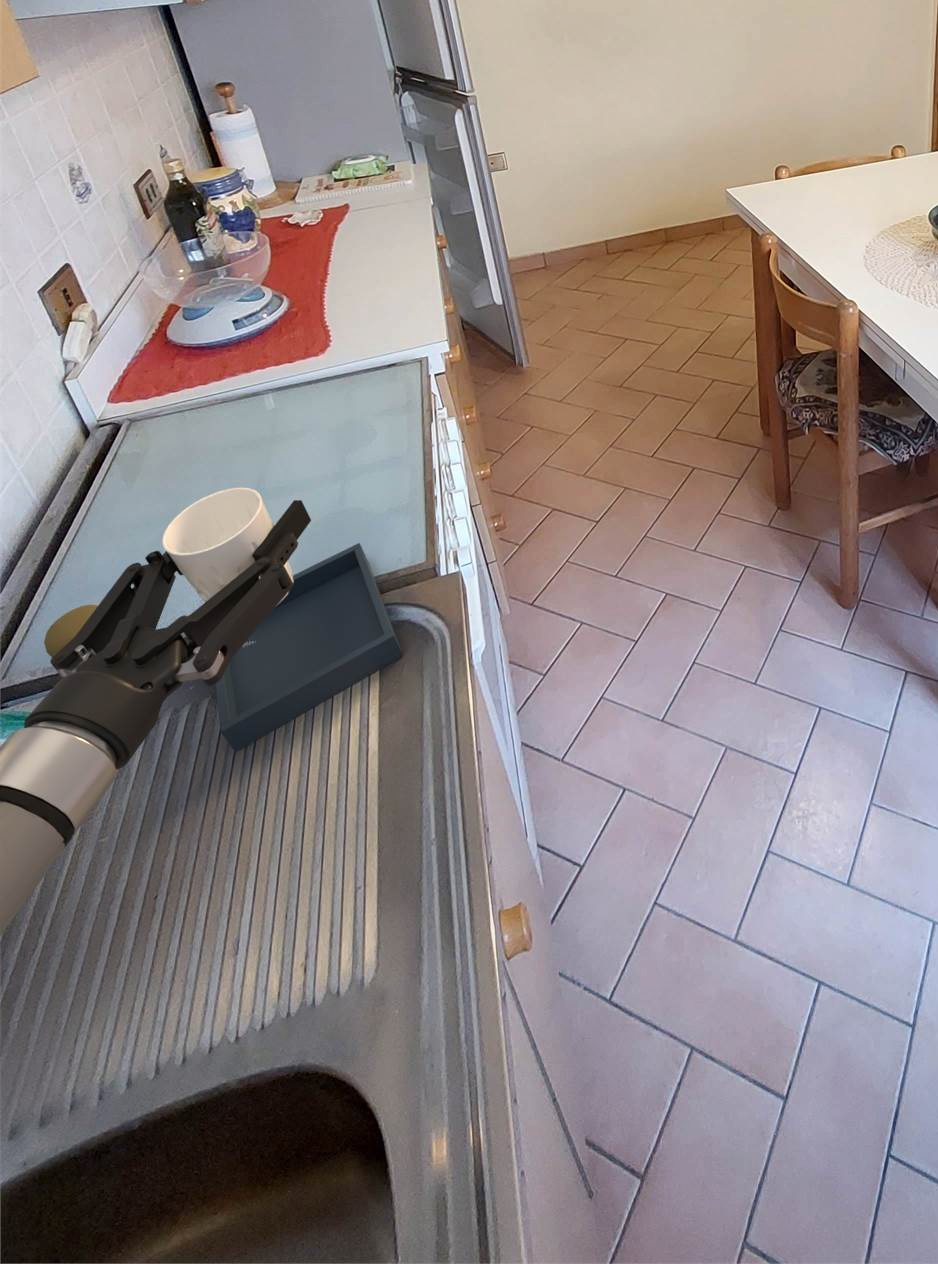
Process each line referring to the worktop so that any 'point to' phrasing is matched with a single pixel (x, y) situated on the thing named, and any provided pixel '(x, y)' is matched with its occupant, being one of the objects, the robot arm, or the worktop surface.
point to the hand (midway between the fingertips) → (262, 510)
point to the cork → (67, 628)
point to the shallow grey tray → (307, 648)
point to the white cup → (218, 538)
